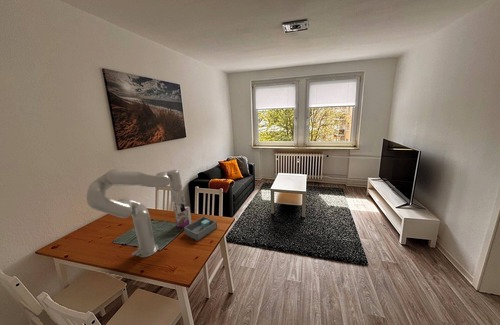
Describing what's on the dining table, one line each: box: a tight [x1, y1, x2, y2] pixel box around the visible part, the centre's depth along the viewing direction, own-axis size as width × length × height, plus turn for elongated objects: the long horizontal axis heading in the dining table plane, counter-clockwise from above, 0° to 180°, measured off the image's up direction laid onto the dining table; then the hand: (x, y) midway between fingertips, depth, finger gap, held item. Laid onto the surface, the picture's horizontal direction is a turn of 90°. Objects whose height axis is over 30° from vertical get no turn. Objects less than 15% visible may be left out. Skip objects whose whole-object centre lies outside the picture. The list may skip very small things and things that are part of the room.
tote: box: [183, 216, 218, 242], centre depth 154 cm, size 20×16×6 cm
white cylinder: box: [175, 203, 183, 213], centre depth 142 cm, size 5×5×7 cm
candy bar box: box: [173, 206, 193, 228], centre depth 161 cm, size 11×5×16 cm, turn 84°
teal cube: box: [201, 219, 210, 229], centre depth 157 cm, size 5×5×5 cm
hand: (180, 210), depth 143 cm, fingers closed on white cylinder, 4 cm apart
